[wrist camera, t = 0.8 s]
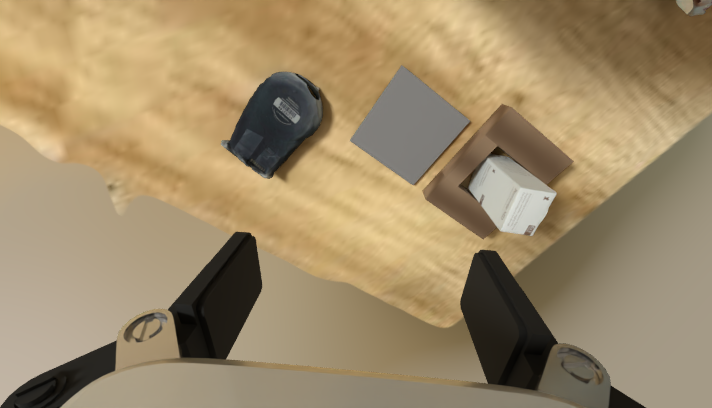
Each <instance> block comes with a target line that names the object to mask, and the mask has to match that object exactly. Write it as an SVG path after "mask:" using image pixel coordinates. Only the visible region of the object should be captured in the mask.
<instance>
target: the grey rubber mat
mask: <svg viewBox="0 0 712 408" xmlns="http://www.w3.org/2000/svg"><path fill="white" fill-rule="evenodd" d="M469 122H470V120H468V119H467V118H466V117H465V116H463V115H462V114H461V113H460V112H459V111H457V110H456V109H455V108H454V107H452V106H451V105H450V104H449V103H448V102H446V101H445V100H444V99H443V98H441V97H440V96H439V95H438V94H437V93H435V92H434V91H433V90H432V89H430V88H429V87H428V86H427V85H426V84H424V83H423V82H422V81H421V80H419V79H418V78H417V77H416V76H414V75H413V74H412V73H411V72H410V71H408V70H407V69H406V68H405V67H403V66H401V67H400V69H399V70H398V71H397V73H396V74H395V76H394V77H393V79H392V80H391V82H390V83H389V84H388V86H387V87H386V89H385V90H384V92H383V93H382V95H381V96H380V98H379V99H378V100H377V102H376V103H375V105H374V106H373V108H372V109H371V111H370V112H369V113H368V115H367V116H366V118H365V119H364V121H363V122H362V124H361V125H360V127H359V128H358V129H357V131H356V132H355V134H354V135H353V137H352V138H351V140H350V141H351V142H352V143H354V144H355V145H357V146H358V147H359V148H361V149H362V150H364V151H365V152H366V153H368V154H369V155H371V156H372V157H374V158H375V159H376V160H378V161H379V162H381V163H382V164H384V165H385V166H386V167H388V168H389V169H391V170H392V171H394V172H395V173H396V174H398V175H399V176H401V177H402V178H403V179H405V180H406V181H408V182H409V183H411V184H412V185H414V184H415V183H416V182H417V180H418V179H419V178H420V177H421V176H422V175H423V174H424V173H425V171H426V170H427V169H428V168H429V167H430V166H431V165H432V164H433V162H434V161H435V160H436V159H437V158H438V157H439V156H440V154H441V153H442V152H443V151H444V150H445V149H446V148H447V147H448V145H449V144H450V143H451V142H452V141H453V140H454V139H455V138H456V136H457V135H458V134H459V133H460V132H461V131H462V130H463V129H464V127H465V126H466V125H467V124H468V123H469Z"/></svg>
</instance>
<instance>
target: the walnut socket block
mask: <svg viewBox="0 0 712 408" xmlns="http://www.w3.org/2000/svg"><path fill="white" fill-rule="evenodd" d="M497 146H498V147H499V148H500V149H501V150H502V151H504V152H505V153H506V154H507V155H509V156H510V157H511V158H512V159H514V160H515V161H516V162H517V163H518V164H520V165H521V166H522V167H523V168H525V170H527V171H528V172H530V173H531V174H532V175H534V176H535V177H536V178H538V179H539V180H540V181H542V182H543V183H544V184H546V185H547V184H548V183H549V182H550V181H552V180H553V179H554V178H555V177H556V176H557V175H559V174H560V173H561V172H562V171H563V170H564V169H566V168H567V167H568V166H569V165H570V164H571V163H573V162H574V161H573V160H571V159H570V158H569V157H568V156H567V155H566V154H565V153H563V152H562V151H561V150H560V149H559V148H558V147H557V146H555V145H554V144H553V143H552V142H551V141H550V140H548V139H547V138H546V137H545V136H544V135H543V134H542V133H540V132H539V131H538V130H537V129H536V128H535V127H534V126H532V125H531V124H530V123H529V122H528V121H527V120H526V119H524V118H523V117H522V116H521V115H520V114H519V113H517V112H516V111H515V110H514V109H513V108H512V107H509V106H506V105H503V104H502V105H501V106H500V107H499V108H498V109H497V110H496V111H495V112H494V113H493V114H492V116H491V117H490V118H489V119H488V120H487V121H486V122H485V123H484V124H483V125H482V127H481V128H480V129H479V130H478V131H477V132H476V133H475V134H474V135H473V136H472V137H471V139H470V140H469V141H468V142H467V143H466V144H465V145H464V146H463V147H462V148H461V149H460V151H459V152H458V153H457V154H456V155H455V156H454V157H453V158H452V159H451V160H450V161H449V163H448V164H447V165H446V166H445V167H444V168H443V169H442V170H441V171H440V172H439V173H438V175H437V176H436V177H435V178H434V179H433V180H432V181H431V182H430V183H429V184H428V185H427V187H426V188H425V189H424V190H423V194H424V196H425V199H426V200H427V201H429V202H430V203H432V204H433V205H434V206H436V207H437V208H439V209H440V210H442V211H443V212H445V213H446V214H447V215H449V216H450V217H452V218H453V219H455V220H456V221H457V222H459V223H460V224H462V225H463V226H465V227H466V228H467V229H469V230H470V231H472V232H473V233H475V234H476V235H478V236H479V237H480V238H482V239H484V238H485V237H486V236H488V235H489V234H490V233H491V232H492V231H493V230H495V229H496V228H497V226H496V225H495V224H494V222H493V221H492V219H491V218H490V217H489V215H488V214H487V213H486V211H485V210H484V209H483V207H482V206H481V205H480V203H479V202H478V201H477V199H476V198H475V197H474V195H473V194H472V193H471V192H470V191H469V190H467V189H466V188H465V187H463V186H462V185H460V184H461V183H462V182H463V180H464V179H465V178H466V177H467V176H468V175H469V174H470V173H471V172H472V171H473V170H474V169H475V168H476V167H477V166H478V165H479V164H480V163H481V162H482V161H483V160H484V159H485V158H486V157H487V156H488V155H489V154H490V153H491V152H492V151H493V150H494V149H495V148H496V147H497Z"/></svg>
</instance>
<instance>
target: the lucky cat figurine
mask: <svg viewBox="0 0 712 408" xmlns="http://www.w3.org/2000/svg"><path fill="white" fill-rule="evenodd" d="M676 3H677V5H678V6H679V7H680V8H681V9H682V10H683V11H684V12H685V13H686V14H687V15H689V16H694V15H702V14H704V13H705V12H706V11H705V10H706V9H708V8H709V7H710V6H711V5H712V0H676Z"/></svg>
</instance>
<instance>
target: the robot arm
mask: <svg viewBox="0 0 712 408" xmlns="http://www.w3.org/2000/svg"><path fill="white" fill-rule="evenodd" d="M261 289H262V280H261V272H260V266H259V260H258V252H257V245H256V239H255V237H254V236H252V235H251V233H247V232H235V233H234V234H233V235H232V237H231V238H230V239H229V240H228V241H227V243H226V244H225V245H224V246H223V247H222V248H221V249H220V251H219V252H218V253H217V254H216V255H215V256H214V258H213V259H212V260H211V261H210V262H209V263H208V264H207V265H206V266H205V267H204V269H203V270H202V271H201V272H200V274H198V276H197V277H196V278H195V279H194V280H193V281H192V282H191V283H190V285H189V286H188V287H187V288H186V289H185V290H184V292H183V293H182V294H181V295H180V296H179V297H178V299H177V300H176V301H175V302H174V303H173V304H172V305H171V307H170V308H169V309H168V310H166V309H153V310H149V311H146V312H143V313H141V314H139V315H137V316H135V317H134V318H132V319H131V320H129V321H128V322H127V323H126V324H125V325H124V326H123V327H122V328H121V330H120V331H119V333H118V336H117V341H115V342H112V343H110V344H108V345H106V346H103V347H101V348H99V349H97V350H94V351H92V352H90V353H88V354H85V355H83V356H81V357H79V358H76V359H74V360H72V361H70V362H67V363H65V364H63V365H61V366H58V367H56V368H54V369H52V370H49V371H47V372H45V373H43V374H40V375H39V376H37V377H35V378H33V379H31V380H29V381H28V382H27V383H25V384H23V385H22V386H20V387H19V388H18V389H17V390H16V391H14V392H13V393H12V394H11V395H10V396H9V397H8V398H7V399H6V400H5V402H4V403H3V404H2V405H1V407H0V408H646V407H644V406H642V405H641V404H639V403H638V402H636V401H634V400H633V399H631V398H630V397H628V396H626V395H625V394H623V393H622V392H620V391H619V390H617V389H615V388H614V387H612V386H611V382H610V376H609V375H608V373H607V371H606V369H605V368H604V367H603V365H602V364H601V363H600V362H599V361H598V360H597V359H596V358H594V357H593V356H592V355H591V354H589V353H588V352H586V351H584V350H583V349H581V348H578V347H576V346H574V345H570V344H566V343H559V344H558V342H557V341H556V339H555V338H554V337H553V335H552V333H551V332H550V330H549V329H548V327H547V326H546V324H545V323H544V321H543V320H542V318H541V317H540V315H539V314H538V312H537V311H536V310H535V308H534V306H533V305H532V303H531V302H530V300H529V299H528V298H527V296H526V294H525V293H524V291H523V290H522V289H521V287H520V286H519V285H518V283H517V282H516V281H515V279H514V277H513V276H512V274H511V273H510V271H509V270H508V268H507V267H506V265H505V264H504V262H503V261H502V259H501V258H500V256H499V255H498V253H497V252H496V251H491V250H480V251H479V252H478V253H475V254H474V257H473V260H472V263H471V267H470V270H469V274H468V277H467V280H466V284H465V287H464V290H463V294H462V297H461V301H460V305H461V310H462V313H463V315H464V318H465V321H466V324H467V326H468V329H469V332H470V335H471V338H472V340H473V343H474V346H475V349H476V352H477V354H478V357H479V360H480V363H481V365H482V368H483V371H484V374H485V376H486V379H487V382H488V384H486V383H477V382H468V381H459V380H449V379H438V378H429V377H418V376H408V375H398V374H386V373H377V372H365V371H354V370H344V369H333V368H322V367H311V366H299V365H288V364H276V363H264V362H253V361H240V360H226V358H227V356H228V354H229V352H230V350H231V348H232V347H233V345H234V343H235V341H236V339H237V337H238V335H239V333H240V331H241V329H242V327H243V325H244V323H245V321H246V319H247V318H248V316H249V314H250V312H251V310H252V308H253V306H254V304H255V302H256V300H257V298H258V296H259V294H260V292H261Z"/></svg>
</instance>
